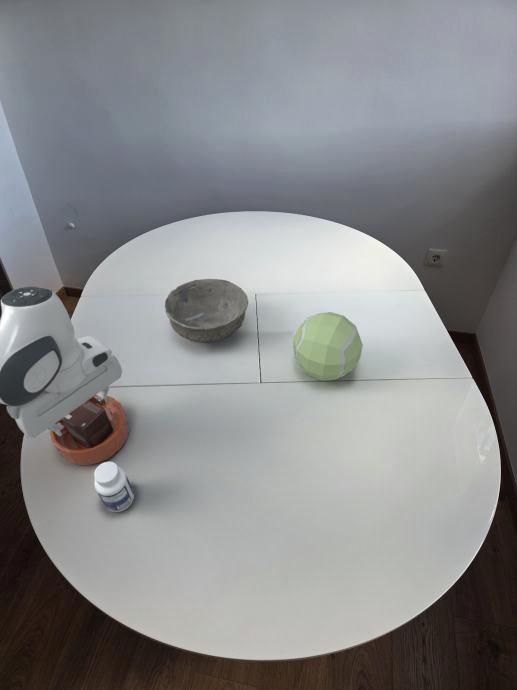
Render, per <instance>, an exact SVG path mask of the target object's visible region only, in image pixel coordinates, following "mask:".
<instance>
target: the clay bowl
mask: <svg viewBox="0 0 517 690" xmlns="http://www.w3.org/2000/svg"><path fill="white" fill-rule="evenodd" d="M97 395H98V394H96V395H95V396H97ZM95 396H93V397H92V398H91V399H89V401H91V402H93V403H95V404H96V405H98V406H100V407H102V408H104V409H105V411H106V413H107V416H108V418H109V420H110V423H111V425H112V427H113V431H112V433H111V434H110V435H109V436H108V437H107V438H106V439H105V440H104V441H103V442H102V443H101V444H100V445H97V446H95V447H93V448H87V447H85V446H83V445H82V444H80V443H78V442H77V441H75V440H73V438H72V436H71V434H70V433H69V431H68V429H67V427H66V425H65V424H64V422H63V420H62V419H61V420H59V421H58V422H57V423H61V425H63V426H64V427H65V430H66V431H67V432H65V433H64V434H63V435H62V436H58V435H57V434H56V433H55V432H54V431H50V432H49V434H50V438H51V441H52V443H53V446H54V447H55V449H56V450H57V452H58V454H59V455H60V456H61V457H62V458H63V459H64V460H65V461H66V462H68V463H71V464H74V465H75V466H90V465H94V464H98V463H101V462H103V461H105V460H108V459H109V458H111V457H113V456H114V455H115V454H116V453H117V452H118V451H120V449H122V447H123V445H124V444H125V442H126V441H127V438H128V435H129V432H130V429H129V427H130V426H129V425H130V424H129V420H128V417H127V415H126V413H125V410H124V408H123V406H122V404H121V403H120V402H119V401H118V400H117V399H115V398H114V397H111V396H109V395H107V396H106V398H107V401H108V402H107V403H105V404H104V405H102V406H101V405H100V404H98V403H97V401H96V399H95ZM57 423H55V424H57Z"/></svg>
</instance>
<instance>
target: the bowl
mask: <svg viewBox="0 0 517 690" xmlns="http://www.w3.org/2000/svg"><path fill="white" fill-rule="evenodd" d="M248 306H249V298H248V295H247V293H246V292H245V291H244V290H243V289H242V288H241V287H240V286H238V285H237V284H235V283H233V282H231V281H229V280H226V279H220V278H219V279H218V278H202V279H193V280H191V281H188V282H184V283H182V284H181V285H179V286H176V288H174V289H172V290H171V291H170V292H169V293H168V295H167V297H166V299H165V302H164V308H165V311H164V312H165V314H166V317H167V318H168V319H169V323H170V326H171V328H172V329H173V331H174V332H175V333H176V334H178V335H179V336H180V337H181V338H183V339H186V340H188V341H190V342H195V343H202V344H210V343H215V342H218V341H221V340H224V339H226V338H228V337H229V336H231V335H233V334H235V332H237V331H238V330H239V329H240V328H241V326H243V322H244V321H245V318H246V311H247V308H248Z"/></svg>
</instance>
